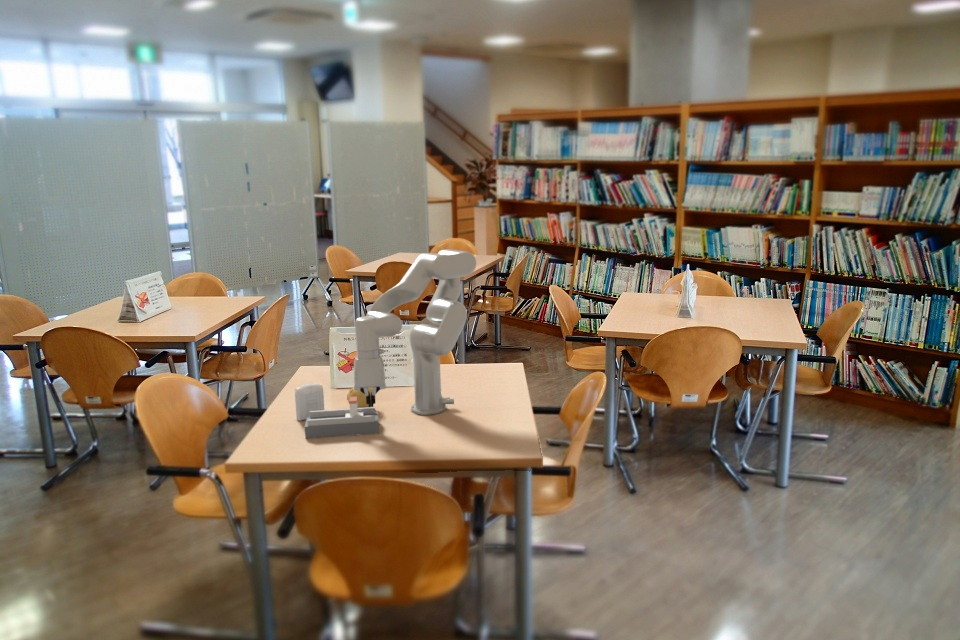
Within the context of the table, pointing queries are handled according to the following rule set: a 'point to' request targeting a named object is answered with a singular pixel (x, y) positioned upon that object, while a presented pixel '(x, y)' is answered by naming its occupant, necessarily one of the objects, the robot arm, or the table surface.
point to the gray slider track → (341, 423)
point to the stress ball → (359, 397)
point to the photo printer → (308, 399)
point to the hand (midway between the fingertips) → (371, 405)
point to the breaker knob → (353, 408)
